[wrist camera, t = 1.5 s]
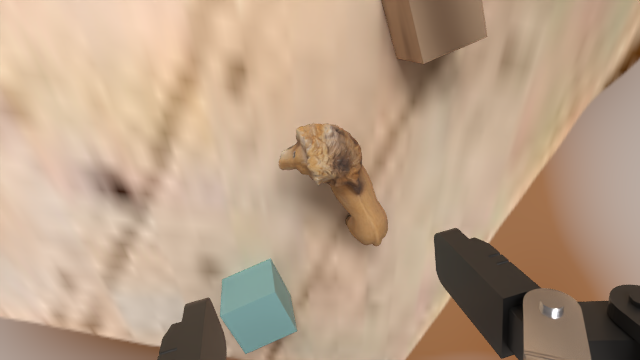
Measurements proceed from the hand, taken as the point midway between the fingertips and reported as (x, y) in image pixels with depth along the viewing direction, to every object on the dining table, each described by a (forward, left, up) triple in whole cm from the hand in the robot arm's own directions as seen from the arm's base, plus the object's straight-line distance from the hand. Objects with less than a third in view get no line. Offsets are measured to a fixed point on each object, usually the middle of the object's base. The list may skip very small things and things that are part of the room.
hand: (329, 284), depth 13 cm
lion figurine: (-3, +5, -20) cm, 21 cm away
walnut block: (-14, -4, -20) cm, 25 cm away
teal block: (+8, +14, -20) cm, 26 cm away
